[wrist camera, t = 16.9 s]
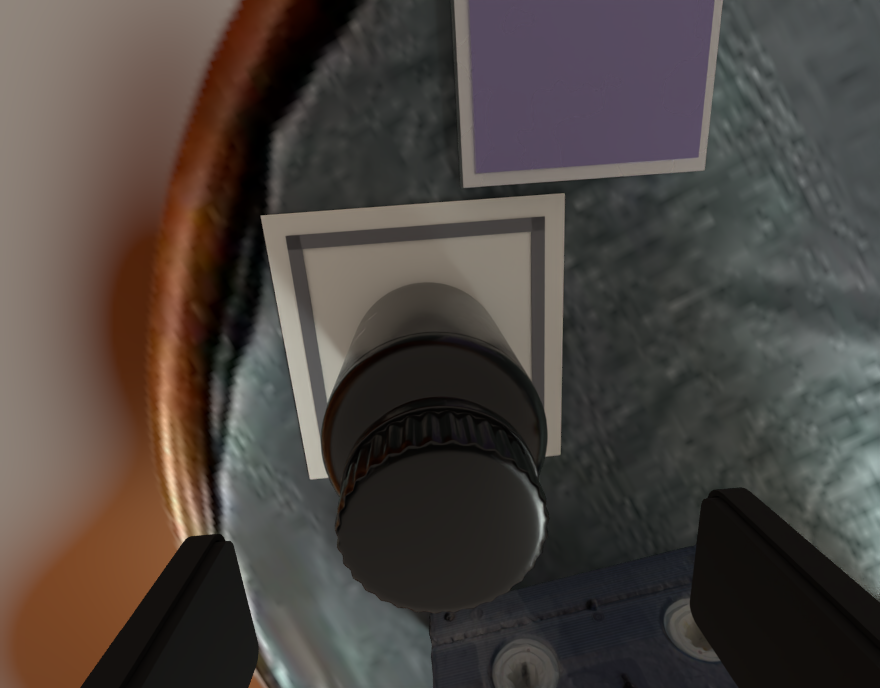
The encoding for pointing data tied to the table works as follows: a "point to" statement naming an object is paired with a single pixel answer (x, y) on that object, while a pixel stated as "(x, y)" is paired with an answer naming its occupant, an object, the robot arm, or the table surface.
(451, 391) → the supplement bottle
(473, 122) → the ink pad
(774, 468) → the table surface
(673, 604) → the vhs cassette tape
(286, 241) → the marked card
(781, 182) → the table surface
